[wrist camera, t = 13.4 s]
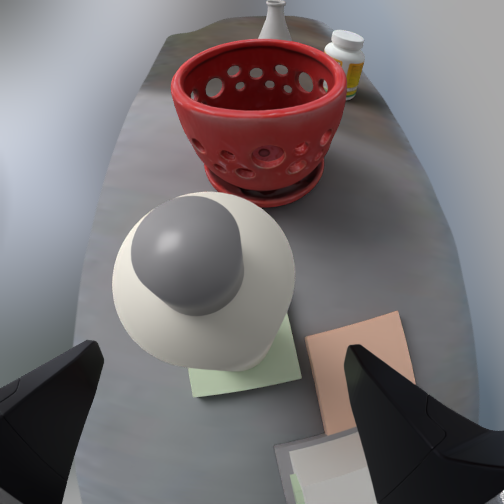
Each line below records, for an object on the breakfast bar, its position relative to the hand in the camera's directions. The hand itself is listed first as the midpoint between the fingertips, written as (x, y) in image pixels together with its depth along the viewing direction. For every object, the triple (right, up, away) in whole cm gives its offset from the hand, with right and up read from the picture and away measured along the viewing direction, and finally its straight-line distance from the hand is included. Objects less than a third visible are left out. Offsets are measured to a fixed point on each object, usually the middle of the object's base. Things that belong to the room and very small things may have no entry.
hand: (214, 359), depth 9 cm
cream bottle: (0, -3, +11) cm, 11 cm away
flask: (+5, +40, +31) cm, 51 cm away
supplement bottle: (+13, +26, +25) cm, 39 cm away
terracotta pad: (+10, -6, +11) cm, 16 cm away
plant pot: (+2, +12, +19) cm, 23 cm away
